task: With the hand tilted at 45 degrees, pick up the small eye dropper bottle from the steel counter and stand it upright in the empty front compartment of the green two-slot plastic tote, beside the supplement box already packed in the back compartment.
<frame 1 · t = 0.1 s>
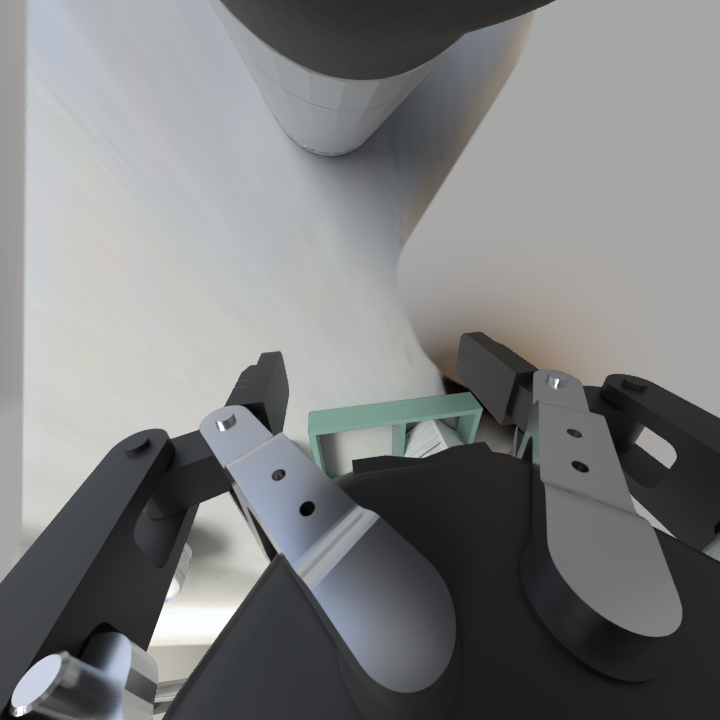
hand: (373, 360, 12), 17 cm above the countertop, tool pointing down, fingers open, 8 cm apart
paper bowls: (151, 533, 46), on the countertop
supplement box: (427, 435, 42), resting in tote
tote: (390, 440, 41), on the countertop
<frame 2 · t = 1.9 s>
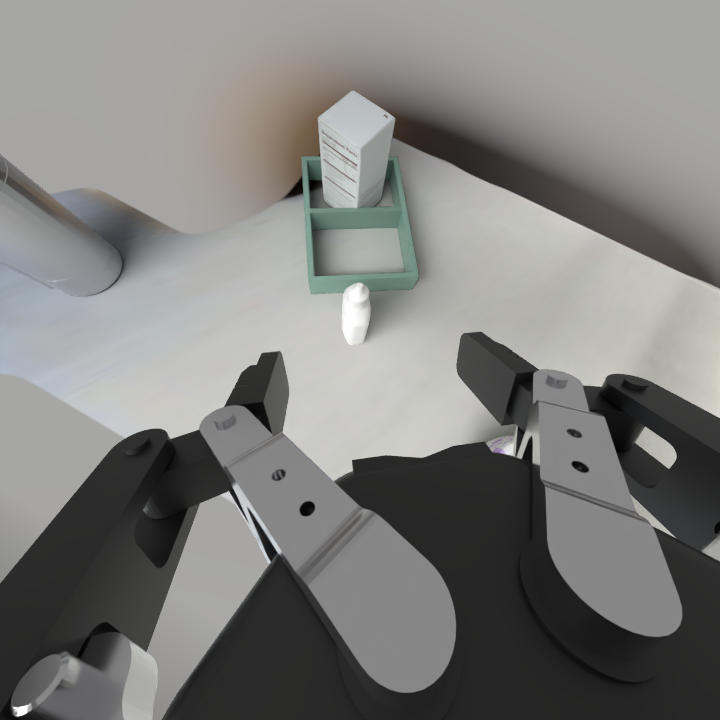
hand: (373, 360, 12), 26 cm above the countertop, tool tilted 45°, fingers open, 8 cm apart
paper bowls: (504, 494, 35), on the countertop
eye dropper bottle: (353, 328, 40), on the countertop
supplement box: (352, 201, 46), resting in tote
tote: (355, 230, 44), on the countertop
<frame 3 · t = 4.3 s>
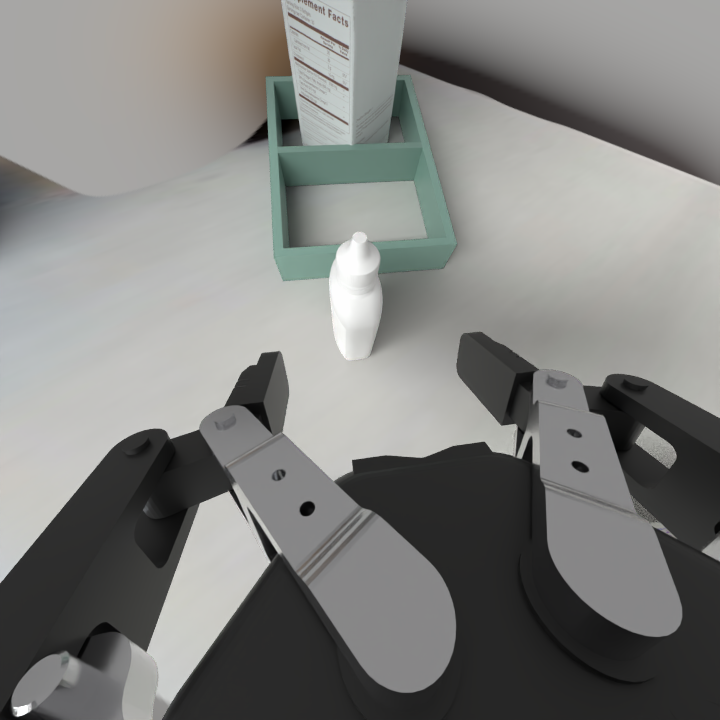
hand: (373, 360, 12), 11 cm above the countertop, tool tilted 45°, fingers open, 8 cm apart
eye dropper bottle: (352, 333, 24), on the countertop
supplement box: (345, 146, 31), resting in tote
tote: (351, 185, 29), on the countertop
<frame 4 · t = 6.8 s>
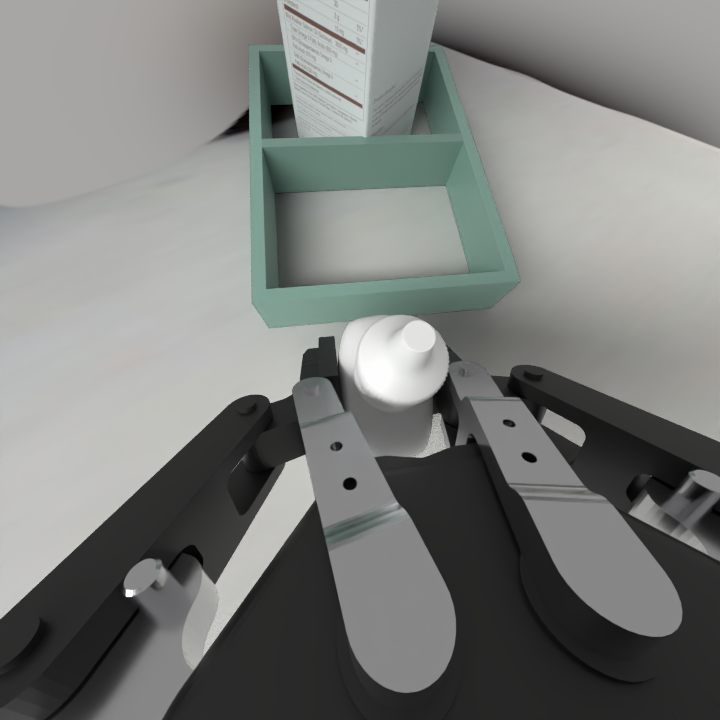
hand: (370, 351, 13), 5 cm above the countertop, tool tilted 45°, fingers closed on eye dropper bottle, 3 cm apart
eye dropper bottle: (367, 406, 17), on the countertop, touching gripper
supplement box: (354, 140, 23), resting in tote
tote: (363, 191, 22), on the countertop
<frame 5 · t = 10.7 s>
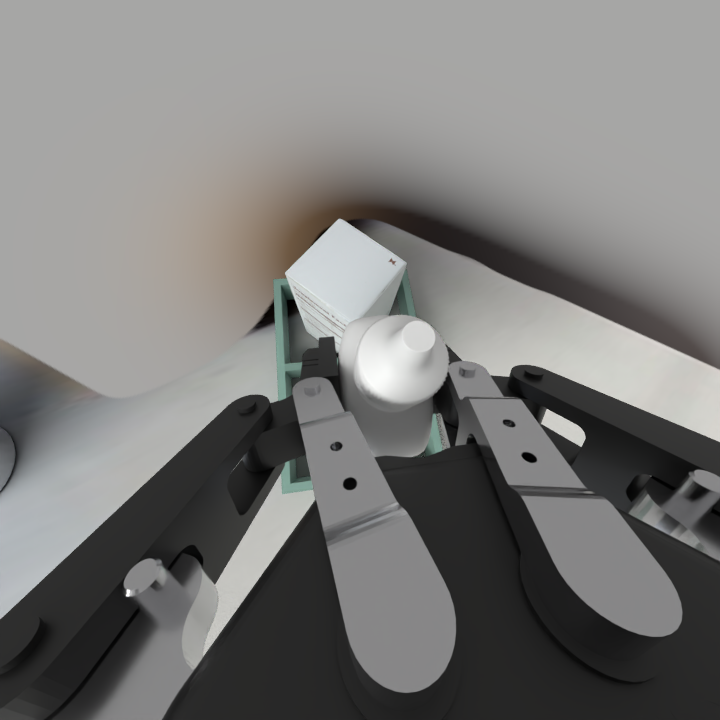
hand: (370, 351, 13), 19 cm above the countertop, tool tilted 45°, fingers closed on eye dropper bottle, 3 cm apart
eye dropper bottle: (367, 406, 17), point 14 cm above the countertop, touching gripper
supplement box: (346, 329, 33), resting in tote
tote: (351, 374, 32), on the countertop
when the fingers open (6 cm above the countertop, at t = 14.8 s): eye dropper bottle stays where it is, resting in tote.
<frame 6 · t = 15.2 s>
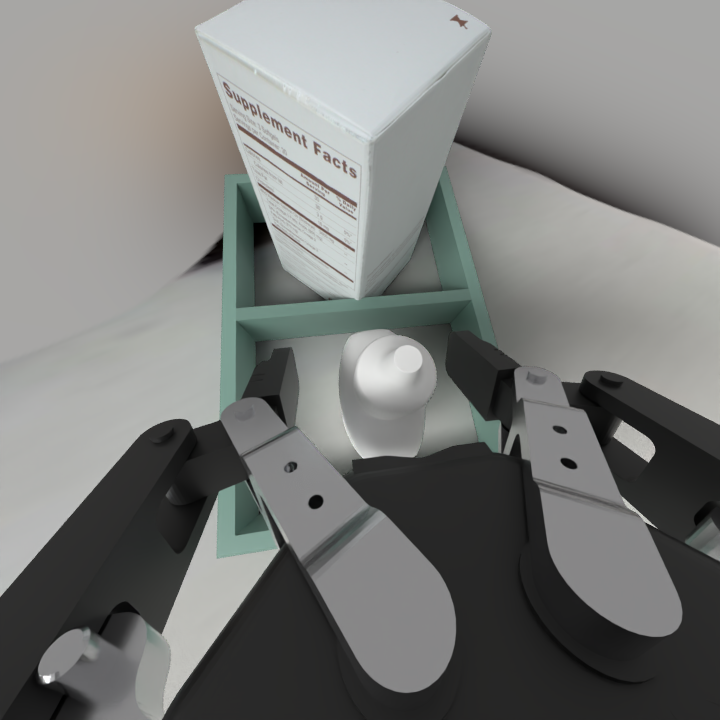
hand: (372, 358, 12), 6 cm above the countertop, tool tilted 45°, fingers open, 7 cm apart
eye dropper bottle: (366, 410, 18), resting in tote
supplement box: (347, 266, 21), resting in tote
tote: (356, 335, 19), on the countertop
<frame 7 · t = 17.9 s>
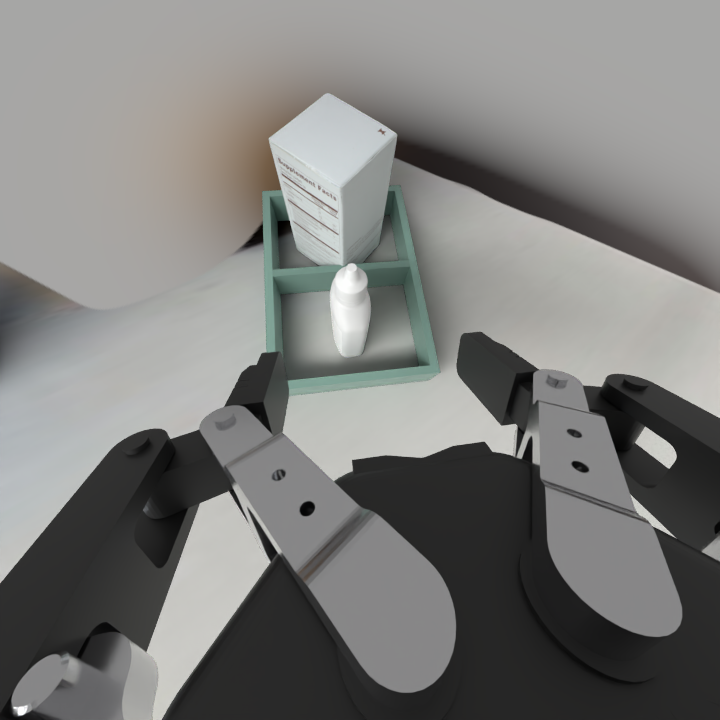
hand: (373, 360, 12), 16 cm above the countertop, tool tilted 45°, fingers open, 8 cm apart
eye dropper bottle: (348, 335, 29), resting in tote
supplement box: (338, 249, 32), resting in tote
tote: (343, 291, 31), on the countertop
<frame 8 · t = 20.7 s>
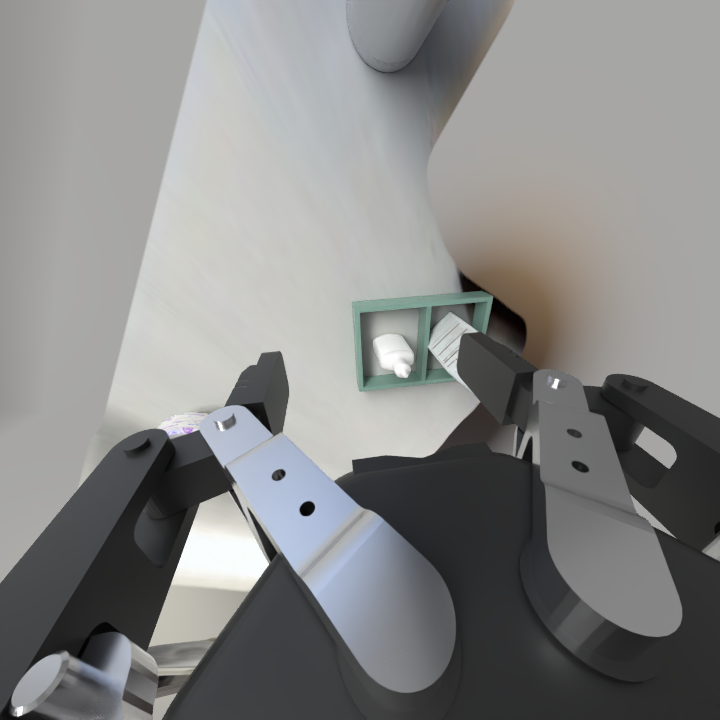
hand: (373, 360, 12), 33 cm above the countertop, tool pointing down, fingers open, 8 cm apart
paper bowls: (207, 430, 53), on the countertop
eye dropper bottle: (387, 341, 49), resting in tote
supplement box: (446, 335, 50), resting in tote
tote: (415, 338, 49), on the countertop
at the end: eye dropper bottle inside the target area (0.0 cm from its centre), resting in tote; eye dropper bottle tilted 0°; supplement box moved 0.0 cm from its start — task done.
